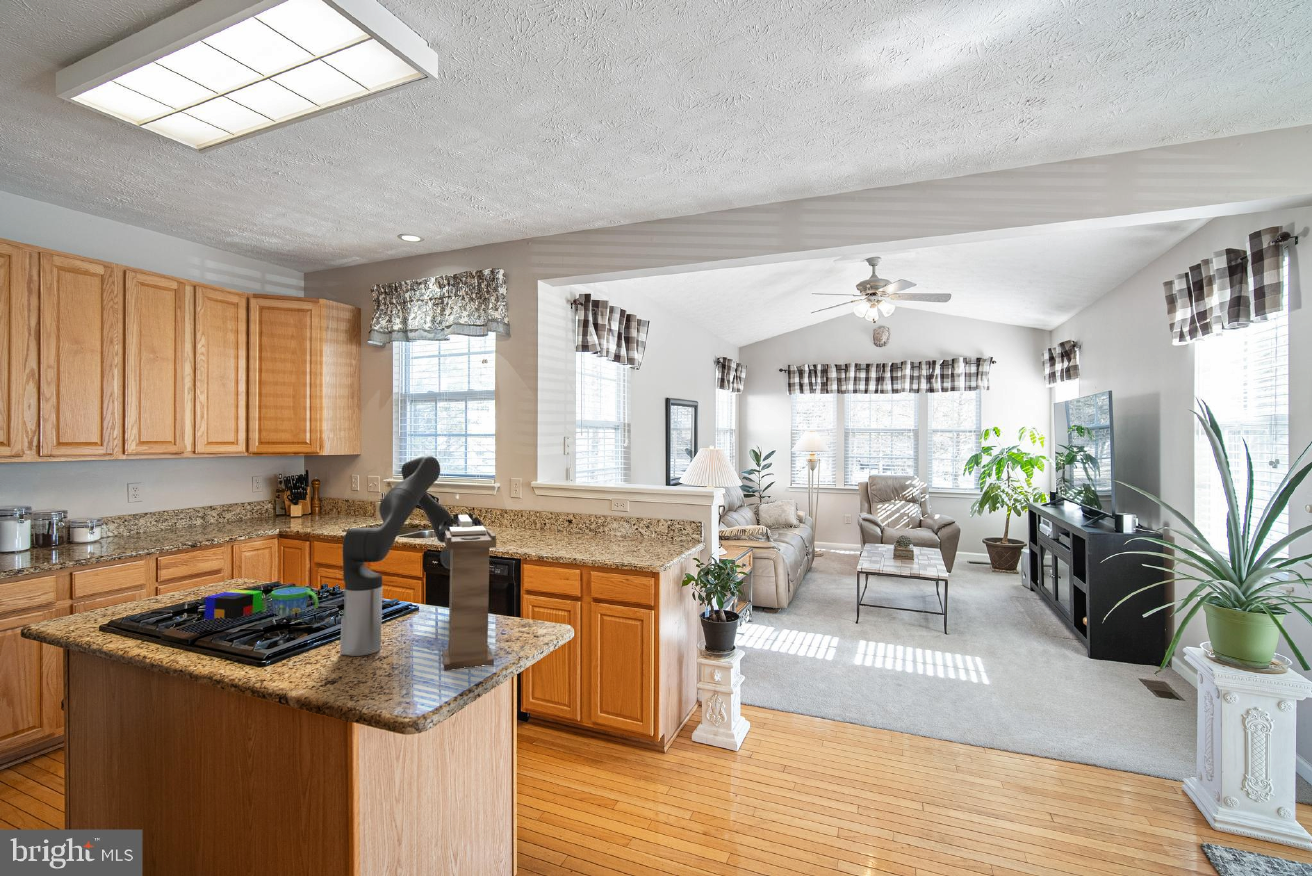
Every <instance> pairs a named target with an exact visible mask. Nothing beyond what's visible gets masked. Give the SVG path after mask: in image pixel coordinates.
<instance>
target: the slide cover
mask: <svg viewBox="0 0 1312 876" xmlns="http://www.w3.org/2000/svg"><path fill="white" fill-rule="evenodd" d="M458 524H459V526H460V527H450V533H451V535H466V534H487V529H486V528H485V527H484V525H483V526H472V520H471V519H470V518H469V516H468V514H458Z"/></svg>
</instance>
